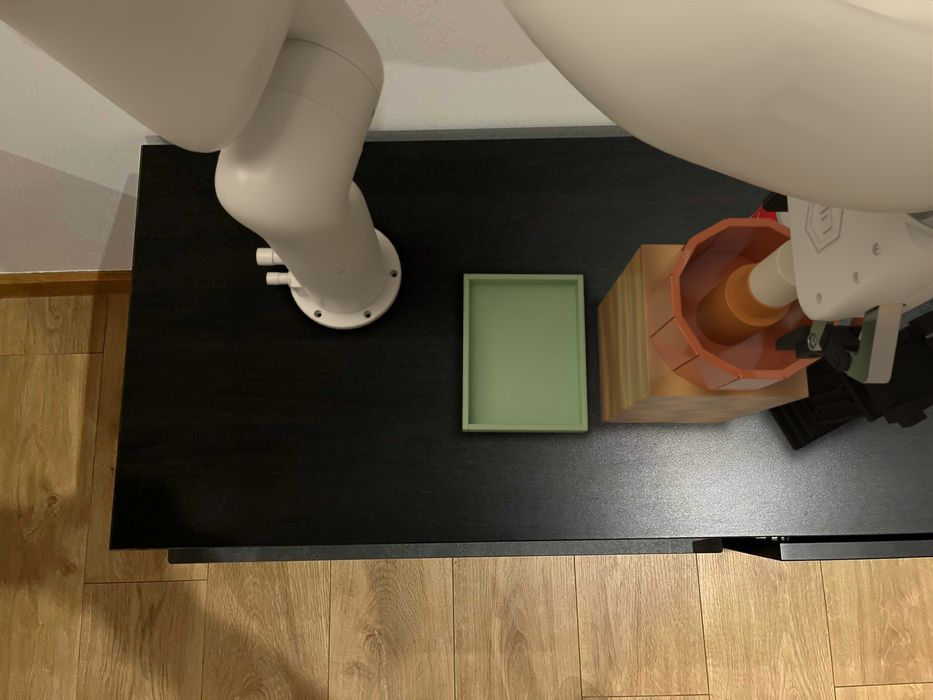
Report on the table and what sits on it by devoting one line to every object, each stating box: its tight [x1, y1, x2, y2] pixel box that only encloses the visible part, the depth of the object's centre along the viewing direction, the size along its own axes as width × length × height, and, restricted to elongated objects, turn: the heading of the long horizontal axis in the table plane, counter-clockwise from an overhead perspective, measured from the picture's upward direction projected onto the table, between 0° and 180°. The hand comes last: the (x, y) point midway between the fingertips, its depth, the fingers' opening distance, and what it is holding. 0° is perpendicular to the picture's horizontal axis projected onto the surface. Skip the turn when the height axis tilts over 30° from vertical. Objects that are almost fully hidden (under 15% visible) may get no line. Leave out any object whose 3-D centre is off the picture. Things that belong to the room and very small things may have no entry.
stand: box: [596, 244, 809, 424], centre depth 67 cm, size 13×13×20 cm
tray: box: [462, 273, 589, 434], centre depth 76 cm, size 13×17×2 cm
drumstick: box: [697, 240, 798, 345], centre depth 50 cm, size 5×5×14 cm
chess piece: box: [768, 309, 933, 452], centre depth 66 cm, size 8×8×20 cm
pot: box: [648, 217, 841, 393], centre depth 54 cm, size 12×12×6 cm
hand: (790, 275), depth 46 cm, fingers open, 9 cm apart
